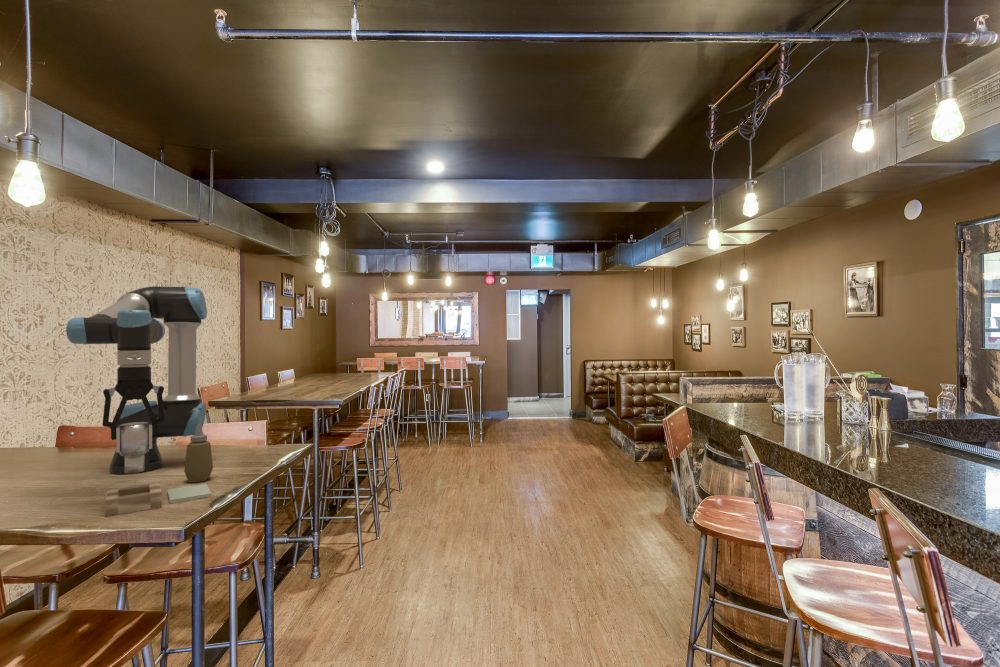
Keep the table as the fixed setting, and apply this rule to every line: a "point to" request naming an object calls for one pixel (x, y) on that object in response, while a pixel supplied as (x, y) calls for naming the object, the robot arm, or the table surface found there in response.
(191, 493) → the mat
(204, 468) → the squeeze bottle
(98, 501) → the table surface
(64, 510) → the table surface
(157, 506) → the bore block
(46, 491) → the table surface
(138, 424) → the metal cylinder
